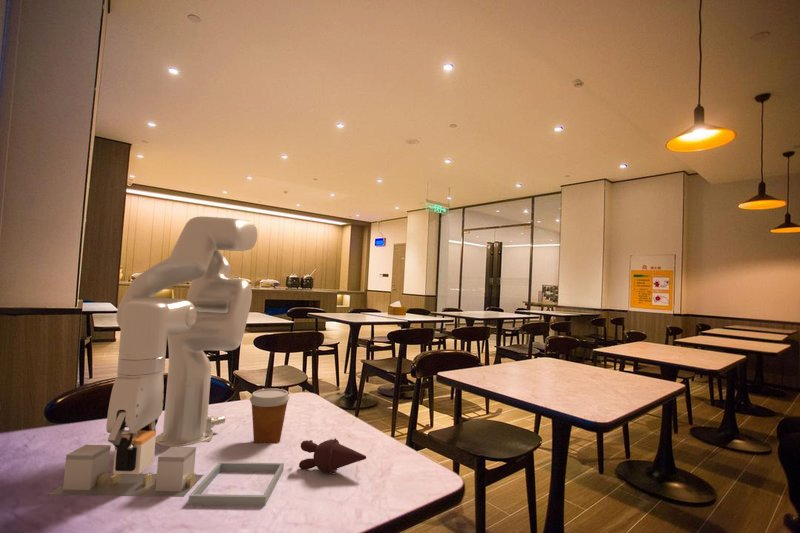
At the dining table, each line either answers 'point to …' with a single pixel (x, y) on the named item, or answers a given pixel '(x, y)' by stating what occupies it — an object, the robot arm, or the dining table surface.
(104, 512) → the dining table surface
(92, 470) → the fuse
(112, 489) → the fuse panel
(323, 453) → the icecream
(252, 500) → the tray
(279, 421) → the disposable coffee cup
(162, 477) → the block
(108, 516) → the dining table surface
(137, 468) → the block
